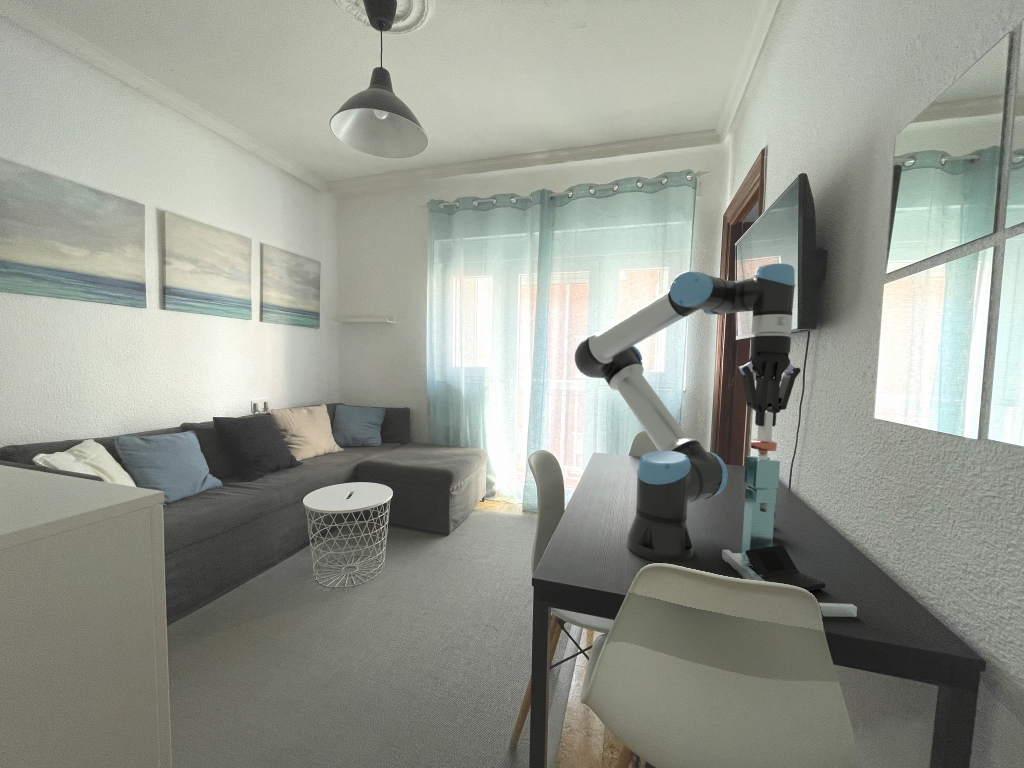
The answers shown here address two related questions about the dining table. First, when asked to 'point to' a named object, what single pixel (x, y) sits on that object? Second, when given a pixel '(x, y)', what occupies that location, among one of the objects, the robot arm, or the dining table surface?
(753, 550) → the handheld gaming console
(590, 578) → the dining table surface
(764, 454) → the plunger
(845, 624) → the dining table surface
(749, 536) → the frame
